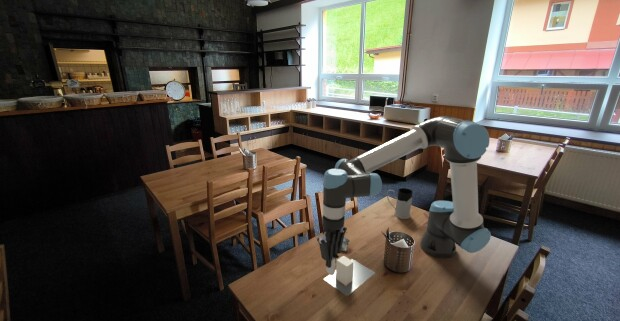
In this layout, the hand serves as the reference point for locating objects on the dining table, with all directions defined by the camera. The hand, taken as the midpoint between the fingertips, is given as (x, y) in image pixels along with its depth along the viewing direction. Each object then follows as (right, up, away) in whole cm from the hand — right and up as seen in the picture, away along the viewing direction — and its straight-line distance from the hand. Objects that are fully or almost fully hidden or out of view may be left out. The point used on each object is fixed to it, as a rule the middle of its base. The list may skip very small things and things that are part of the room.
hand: (330, 272), depth 103 cm
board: (+8, -6, +11) cm, 15 cm away
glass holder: (+43, +10, +61) cm, 75 cm away
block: (+6, -6, +8) cm, 12 cm away
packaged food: (+5, 0, +30) cm, 31 cm away
